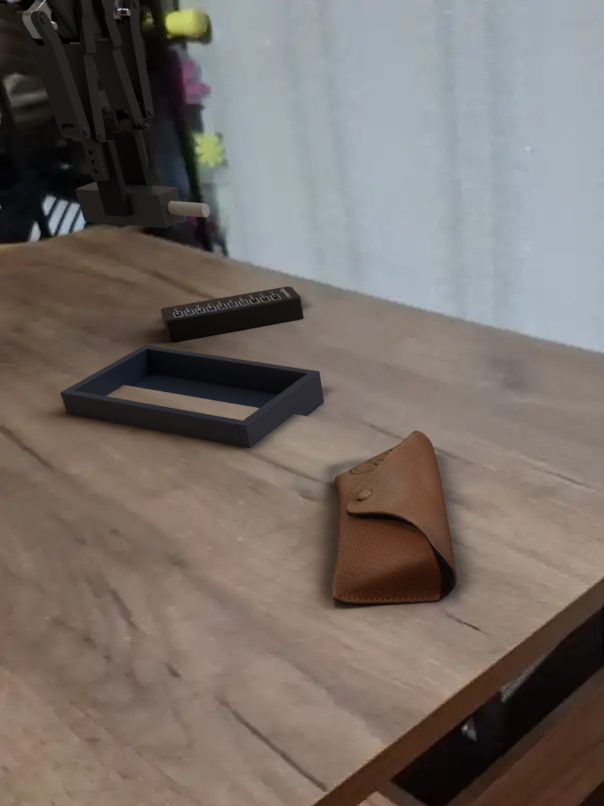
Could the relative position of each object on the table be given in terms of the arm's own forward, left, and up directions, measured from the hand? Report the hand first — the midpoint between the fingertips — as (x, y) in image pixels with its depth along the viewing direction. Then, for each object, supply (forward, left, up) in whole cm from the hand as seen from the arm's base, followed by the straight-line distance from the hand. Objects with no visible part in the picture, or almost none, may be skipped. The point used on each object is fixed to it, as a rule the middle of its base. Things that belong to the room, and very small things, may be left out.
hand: (131, 209), depth 93 cm
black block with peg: (+2, 0, -1) cm, 2 cm away
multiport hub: (+5, +6, -13) cm, 15 cm away
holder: (+15, -14, -13) cm, 24 cm away
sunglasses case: (+41, -26, -13) cm, 50 cm away
